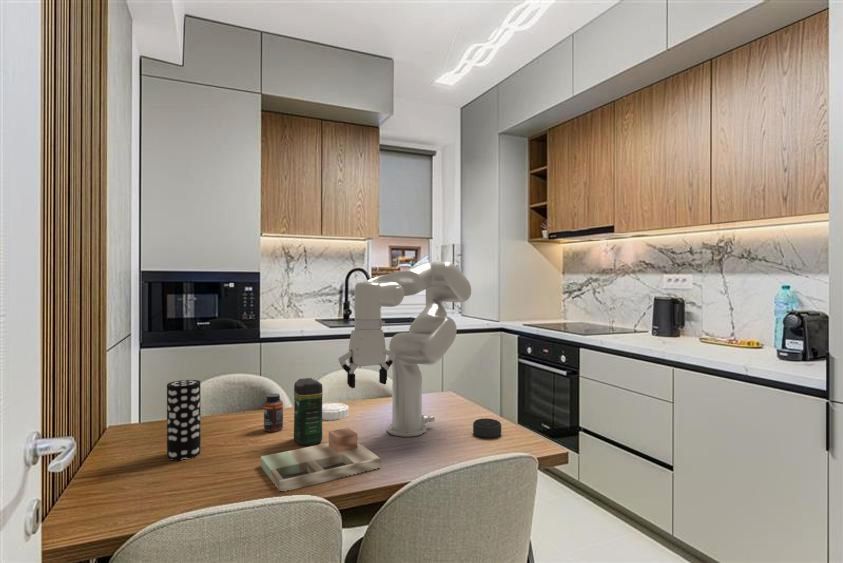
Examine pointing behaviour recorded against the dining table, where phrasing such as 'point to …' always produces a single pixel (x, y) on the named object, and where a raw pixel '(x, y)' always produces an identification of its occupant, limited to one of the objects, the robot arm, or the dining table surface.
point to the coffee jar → (308, 411)
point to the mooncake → (334, 411)
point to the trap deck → (316, 465)
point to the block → (343, 440)
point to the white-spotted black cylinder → (183, 419)
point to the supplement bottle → (273, 413)
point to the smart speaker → (487, 428)
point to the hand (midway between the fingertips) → (367, 385)
